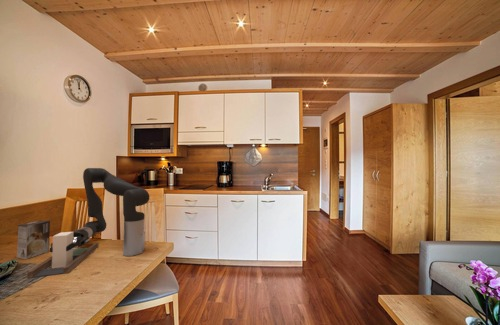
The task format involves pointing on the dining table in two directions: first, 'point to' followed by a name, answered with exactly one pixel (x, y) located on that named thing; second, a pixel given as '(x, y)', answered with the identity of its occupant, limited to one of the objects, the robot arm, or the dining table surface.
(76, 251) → the pad
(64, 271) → the frame
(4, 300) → the dining table surface
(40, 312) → the dining table surface
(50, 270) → the grey base plate
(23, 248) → the coffee box
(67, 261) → the cream block
